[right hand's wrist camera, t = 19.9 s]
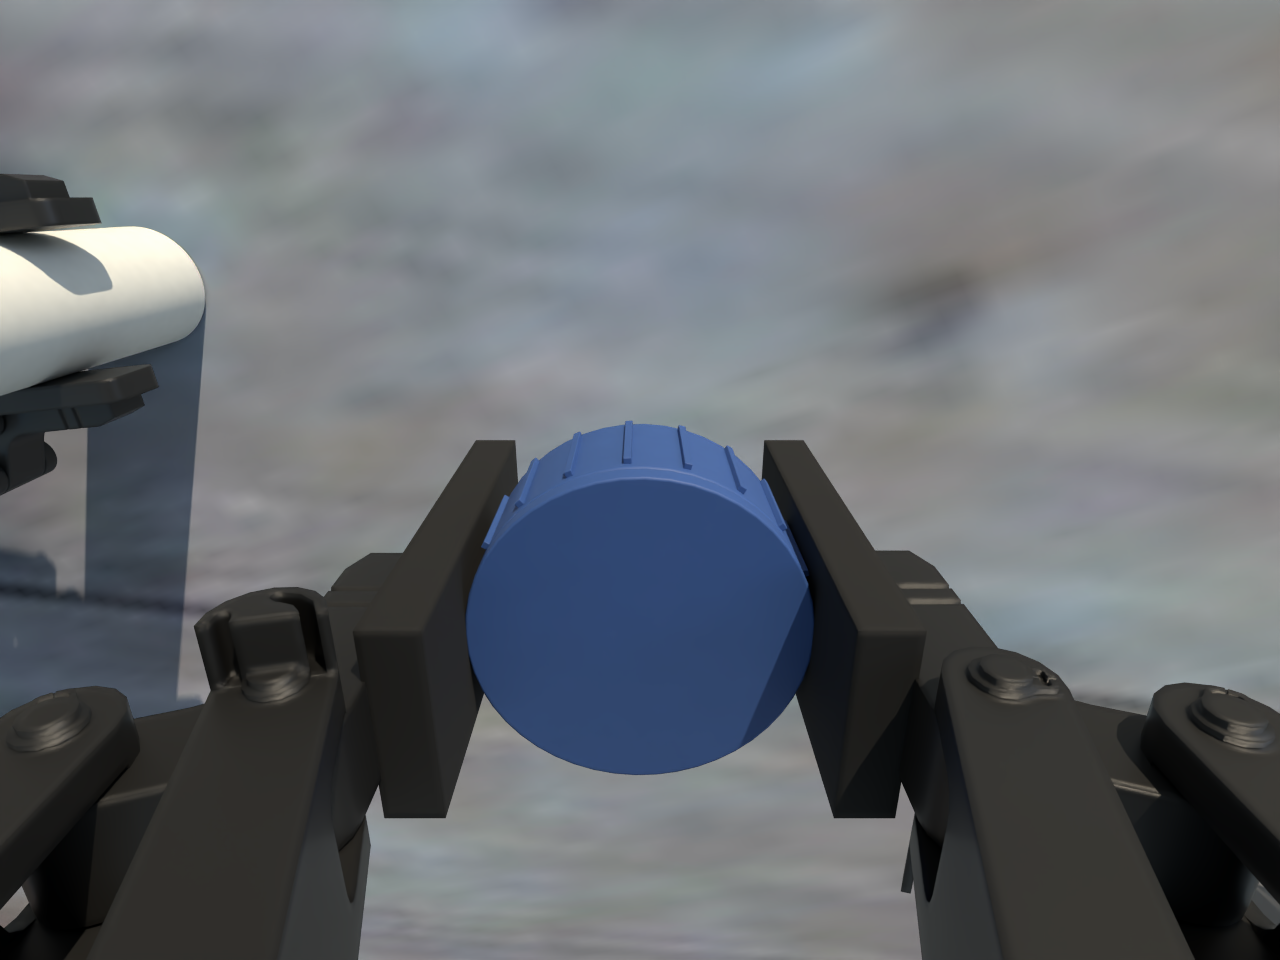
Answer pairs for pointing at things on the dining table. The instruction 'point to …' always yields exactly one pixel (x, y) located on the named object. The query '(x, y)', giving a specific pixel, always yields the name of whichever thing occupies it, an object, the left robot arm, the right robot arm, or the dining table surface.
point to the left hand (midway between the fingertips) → (106, 299)
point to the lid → (640, 603)
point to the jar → (90, 300)
